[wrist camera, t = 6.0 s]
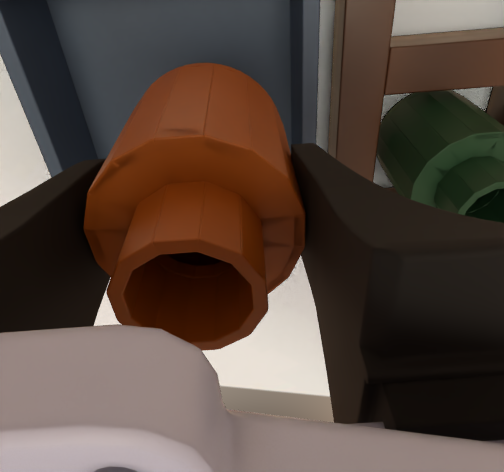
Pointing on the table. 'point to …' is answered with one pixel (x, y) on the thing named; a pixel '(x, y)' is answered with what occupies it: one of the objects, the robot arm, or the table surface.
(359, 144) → the rack
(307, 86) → the basket
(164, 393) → the robot arm
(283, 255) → the amber bottle
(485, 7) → the table surface
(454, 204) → the green bottle
